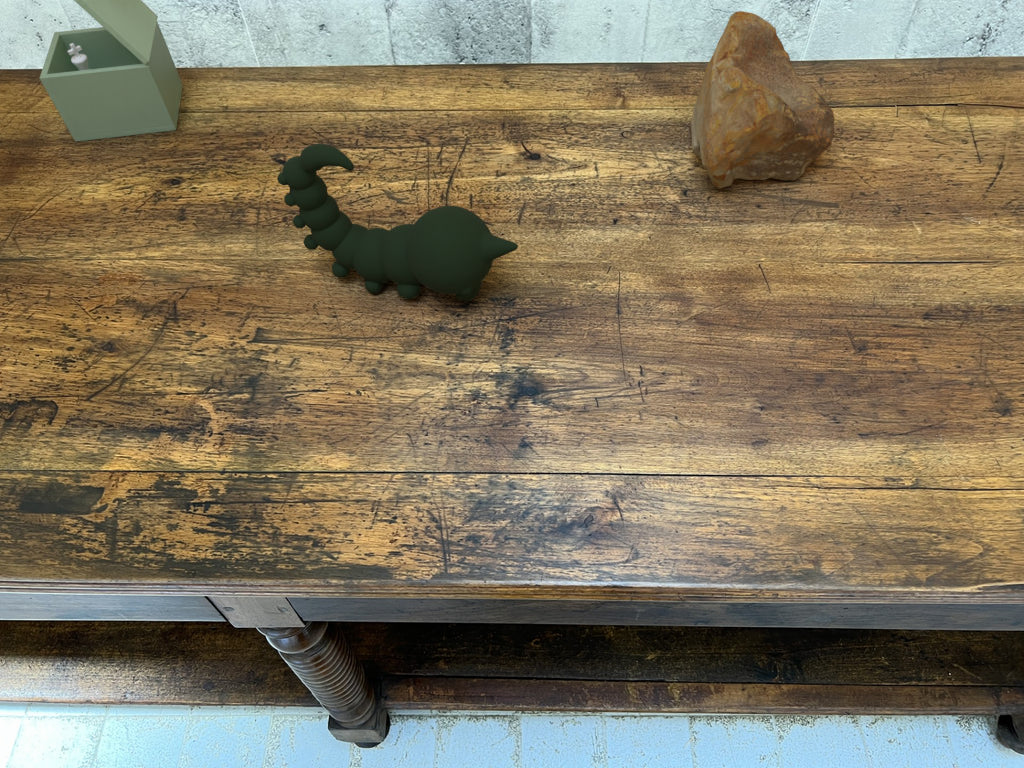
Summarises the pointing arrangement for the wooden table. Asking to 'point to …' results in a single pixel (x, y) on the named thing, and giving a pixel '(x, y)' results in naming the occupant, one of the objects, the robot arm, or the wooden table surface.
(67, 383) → the wooden table surface
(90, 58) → the bin
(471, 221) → the toy figurine
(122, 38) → the bin lid
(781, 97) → the rough brown rock
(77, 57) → the chess piece
